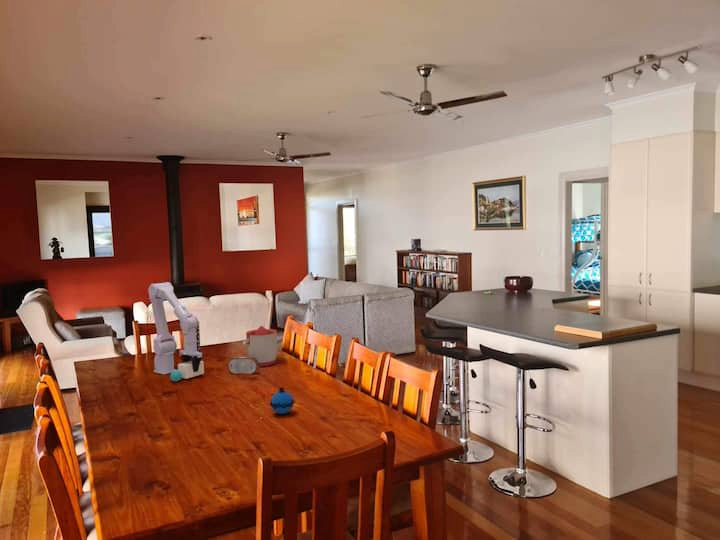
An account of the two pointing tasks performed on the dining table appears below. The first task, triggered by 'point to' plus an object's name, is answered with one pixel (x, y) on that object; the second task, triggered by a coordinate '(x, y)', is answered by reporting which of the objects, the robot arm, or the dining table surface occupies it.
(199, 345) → the white-spotted black cylinder
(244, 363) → the tin
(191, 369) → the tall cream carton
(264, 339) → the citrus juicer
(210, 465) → the dining table surface
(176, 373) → the ball
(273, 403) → the ornament
